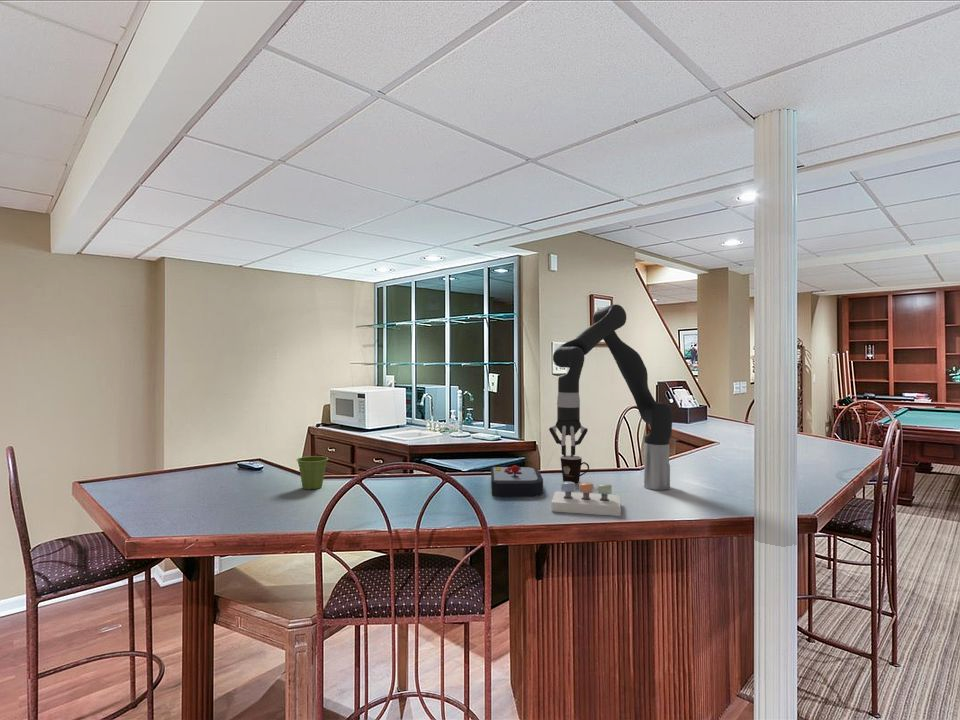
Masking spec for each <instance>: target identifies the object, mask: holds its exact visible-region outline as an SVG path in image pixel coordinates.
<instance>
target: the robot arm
mask: <svg viewBox="0 0 960 720" xmlns="http://www.w3.org/2000/svg"><path fill="white" fill-rule="evenodd" d="M592 320H593V323H594V324H592V325H590V326H588V327H587V328H585V329H584V330H582V331H581V332H579V333H578V334H577V335H576V336H575V337H574V338H573V339H571V340H568V341H566V342H565V343H563V344H561V345H560V346H558V347H557V348H556V349H555V351H554V352H553V354H552V360H553V363H554V365H556V366H557V367H558V368H569V369H568V371H567V373H566V374H561V375H559V376H558V379H557V382H558V383H557V399H556V405H557V408H556V410H557V412H556V413H557V414H556V415H557V416H556V419H557V420H556V422H555V425H553V426H551V427H549V429H548V431H549V432H550V434H551V436H552V438H553V440H554V441H555V443H556V444H557V445H560V446H561V456H564V457H566V456H567V445H566V440H567V439H566V438H567V436H570V442H571V444H570V455H571V457H573V456H576V446H579V445H580V444H581V443H582V442H583V440H584V437H585V436H586V435H587V433H588V428H587V427H584V426H583V425H582V424H581V421H580V419H581V418H580V417H581V414H580V412H581V409H580V408H581V407H580V406H581V400H580V399H581V398H580V378H581V373H582V371H583V367H584V364H585V356H586V355H587V354H589V352H591V351H592V350H593V349H594V348H595V347H596V346H597V345H598V344H599V343H600V342H602V341H603V342H604V343H605V345H606V346H607V348H608V350H609V351H610V353H611V355H612V356H613V360H615V363H616V365H617V367H618V369H619V372H620V373H621V376H622V378H623V379H624V381H625V383H626V385H627V387H628V389H629V391H630V393H631V395H632V397H633V399H634V402H635V405H636V407H637V410H638V413H639V415H640V418H641V419H642V420H643V422H644V423H646V424H647V425H650V432H649V433H648V434H645V435H644V439H643V440H644V441H643V442H644V443H643V449H644V450H643V453H644V455H643V457H644V458H643V463H644V466H643V468H644V471H643V472H644V473H643V477H644V478H643V484H644V485H643V486H644V487H645V489H650V490H655V491H664V490H670V489H671V463H670V440H671V437H672V433H673V432H672V431H673V411H672V408H671V407H670V405H669V404H667V403H665V402H661V401H656V400H655V398H654V397H653V395H652V393H651V390H650V388H649V385H648V384H649V383H648V380H649V379H648V370H647V367H646V364H645V363H644V361H643V359H642V357H641V355H640V353H639V352H637V351H636V350H635V349H634V348H632V347H631V346H630V345H628V344H627V343H626V342H624V341H623V340H622V339H621V338H620V336H618V334H617V332H616V330H618V329H620V328H622V327H623V326H625V324H626V322H627V313H626V310H625V309H624V307H623V306H621V305H620V304H611V305H607V306H605V307H601V308H598V309H596V310H595V311H594V312H593V315H592ZM557 430H558V431H559V433H560V434H561V439H560V438H559V436H558V434H557ZM579 431H580V435H579V437H578V438H577V439H576V434H577V433H578V432H579ZM644 487H643V488H644Z"/></svg>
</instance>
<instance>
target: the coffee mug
mask: <svg viewBox="0 0 960 720" xmlns="http://www.w3.org/2000/svg"><path fill="white" fill-rule="evenodd" d="M559 459H560V467H561V474H562V476H561V477H562V482H574V483H575V485H577V484H579V483H580V478H581V477H582V476H583V475H585V474H587V473H588V471H589V470H590V465H589V464H588V463H587V462H585V461H582V460H583V457H582V456H578V455H573V457H571V454H570V455H567V454H566V457H564V455H561V456H560V458H559ZM582 465H586V466H587V469H586V470H585V471H584V472H583V473H581V469H582Z"/></svg>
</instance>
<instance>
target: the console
mask: <svg viewBox="0 0 960 720" xmlns="http://www.w3.org/2000/svg"><path fill="white" fill-rule="evenodd" d="M621 511H622V510H621V500H620V495H618V494H608V501H601V494H600V493H589V500H583V493H582V492H571V499H565V492H564V491H554V494H553V497H552V500H551V512H555V513H556V512H558V513H571V514H572V513H573V514H588V515H598V516H599V515H603V516H615V517H616V516H617V517H621V514H622V513H621Z"/></svg>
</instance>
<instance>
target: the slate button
mask: <svg viewBox="0 0 960 720" xmlns="http://www.w3.org/2000/svg"><path fill="white" fill-rule="evenodd" d="M560 487H561V492H565V499H571V492H572V493H575V491H576V484H575V483H574V482H563V481H562V482H561V483H560Z"/></svg>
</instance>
